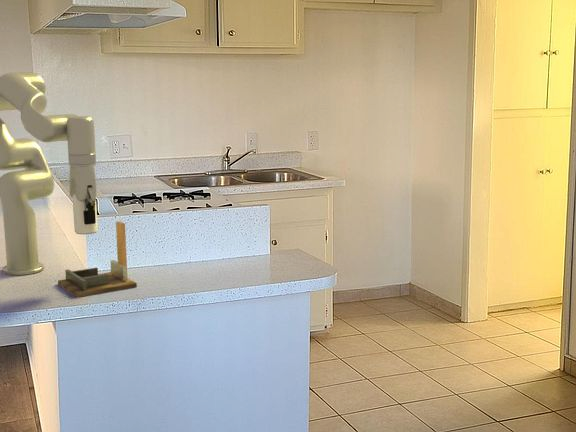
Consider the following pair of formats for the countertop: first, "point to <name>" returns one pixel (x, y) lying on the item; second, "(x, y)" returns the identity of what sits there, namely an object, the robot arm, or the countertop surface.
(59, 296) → the countertop surface
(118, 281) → the rail board
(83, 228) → the can
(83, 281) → the can holder
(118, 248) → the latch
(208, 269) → the countertop surface
